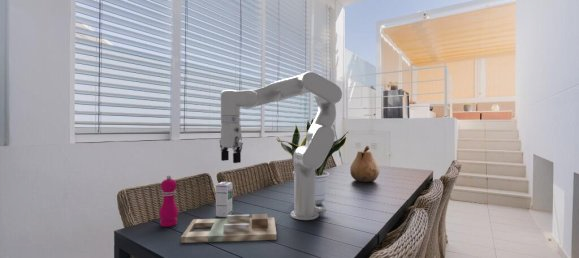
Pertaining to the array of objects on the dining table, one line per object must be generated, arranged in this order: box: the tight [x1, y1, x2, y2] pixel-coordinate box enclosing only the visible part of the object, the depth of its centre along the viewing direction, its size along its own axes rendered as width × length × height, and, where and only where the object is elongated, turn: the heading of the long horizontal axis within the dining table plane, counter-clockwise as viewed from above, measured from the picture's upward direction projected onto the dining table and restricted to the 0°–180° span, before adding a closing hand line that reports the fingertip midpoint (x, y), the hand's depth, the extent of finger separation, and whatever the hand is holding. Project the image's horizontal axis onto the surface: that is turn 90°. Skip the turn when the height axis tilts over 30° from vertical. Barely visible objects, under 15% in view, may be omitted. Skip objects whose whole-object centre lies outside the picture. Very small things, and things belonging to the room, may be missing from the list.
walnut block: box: [251, 213, 269, 229], centre depth 109 cm, size 6×6×4 cm
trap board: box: [180, 214, 277, 244], centre depth 108 cm, size 33×18×4 cm, turn 96°
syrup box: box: [215, 181, 234, 218], centre depth 127 cm, size 6×6×14 cm
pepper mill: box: [158, 174, 179, 228], centre depth 115 cm, size 7×7×20 cm
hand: (230, 161), depth 117 cm, fingers open, 9 cm apart
